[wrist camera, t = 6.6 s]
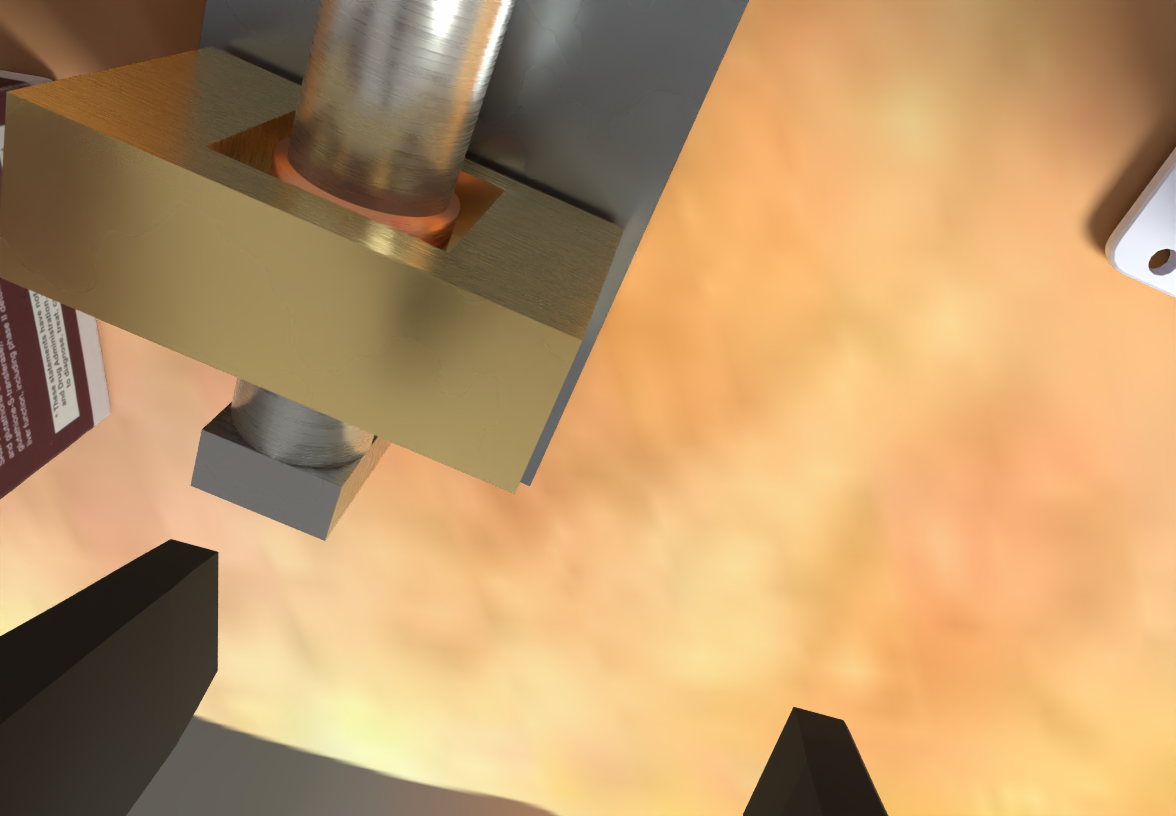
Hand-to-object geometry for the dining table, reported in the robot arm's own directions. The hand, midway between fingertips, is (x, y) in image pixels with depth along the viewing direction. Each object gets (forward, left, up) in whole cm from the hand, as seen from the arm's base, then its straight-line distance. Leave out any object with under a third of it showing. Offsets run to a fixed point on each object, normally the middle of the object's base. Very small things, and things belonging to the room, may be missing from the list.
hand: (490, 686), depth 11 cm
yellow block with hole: (+5, -1, -10) cm, 12 cm away
